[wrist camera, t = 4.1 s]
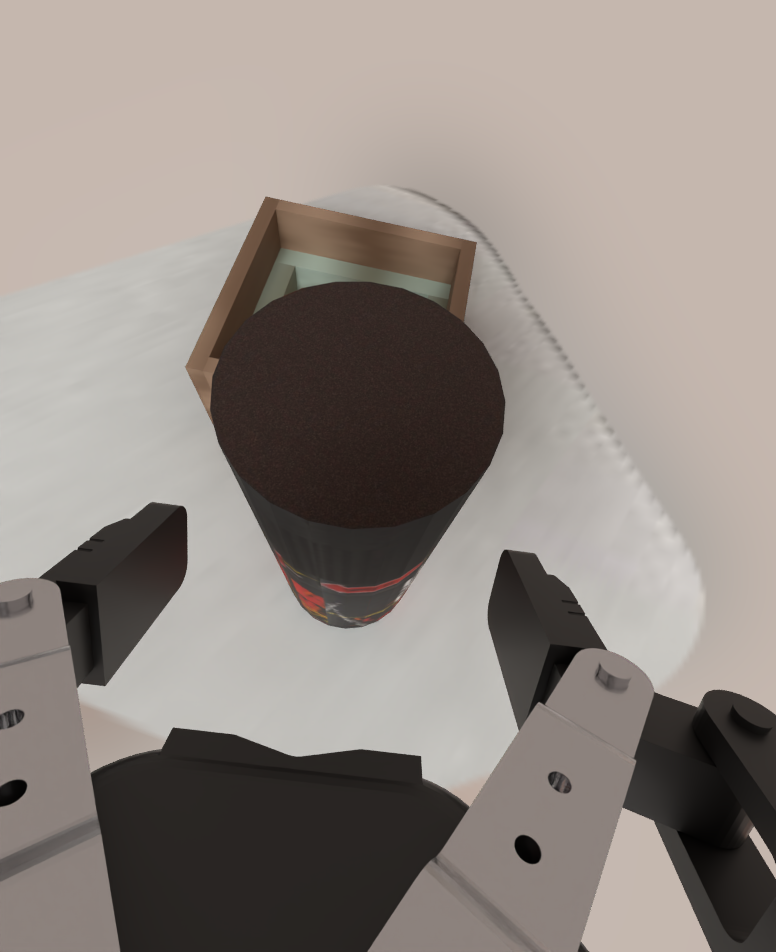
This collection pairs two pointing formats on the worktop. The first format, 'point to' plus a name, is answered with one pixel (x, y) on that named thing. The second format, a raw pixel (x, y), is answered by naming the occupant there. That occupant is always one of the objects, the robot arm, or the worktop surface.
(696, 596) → the worktop surface
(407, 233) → the holder box
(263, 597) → the worktop surface
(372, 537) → the deodorant
